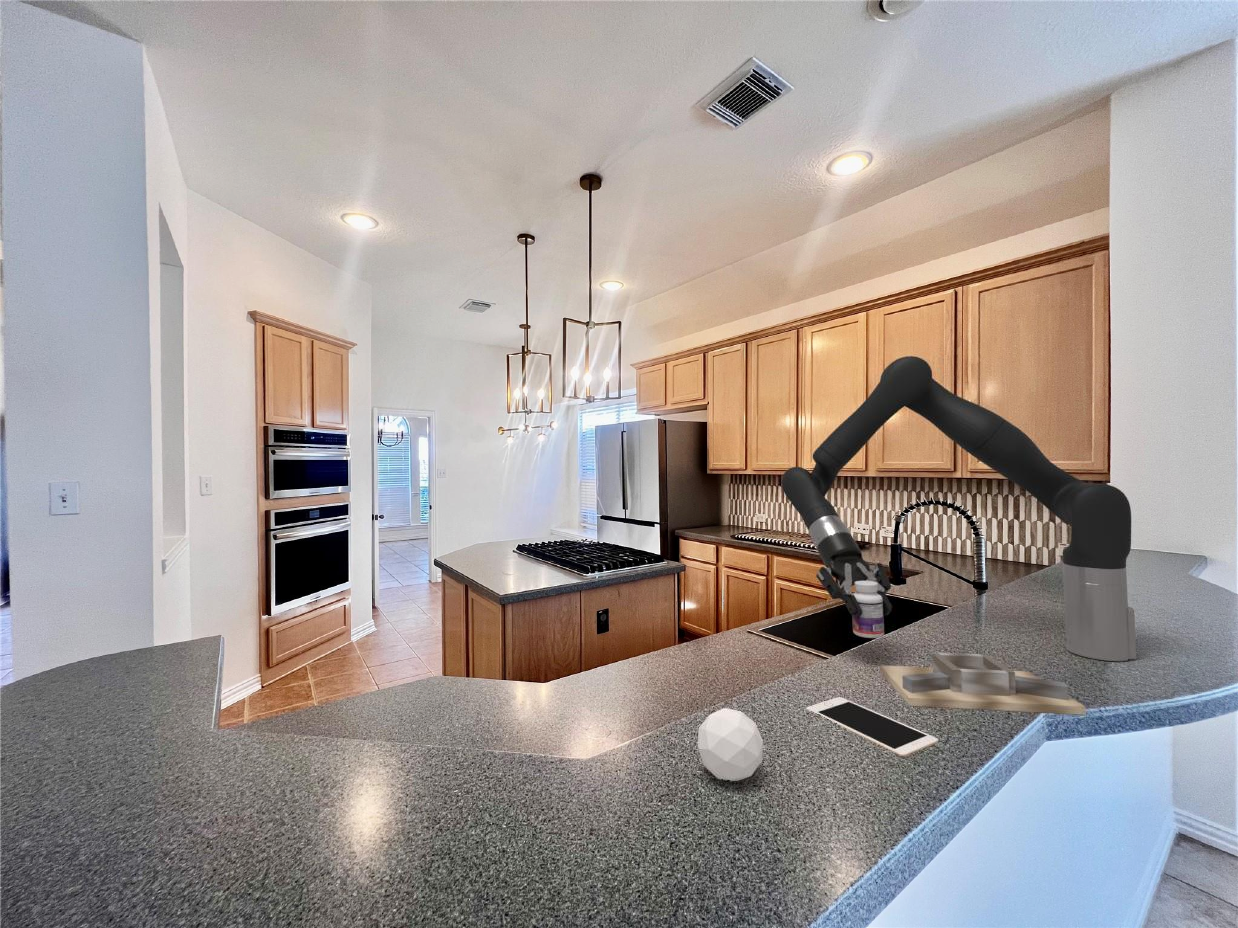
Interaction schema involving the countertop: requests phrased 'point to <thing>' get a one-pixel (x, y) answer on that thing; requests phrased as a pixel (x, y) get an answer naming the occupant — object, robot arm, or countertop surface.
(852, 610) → the robot arm
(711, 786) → the countertop surface
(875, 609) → the pill bottle
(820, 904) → the countertop surface
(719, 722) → the ball
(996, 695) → the base
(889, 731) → the cell phone
